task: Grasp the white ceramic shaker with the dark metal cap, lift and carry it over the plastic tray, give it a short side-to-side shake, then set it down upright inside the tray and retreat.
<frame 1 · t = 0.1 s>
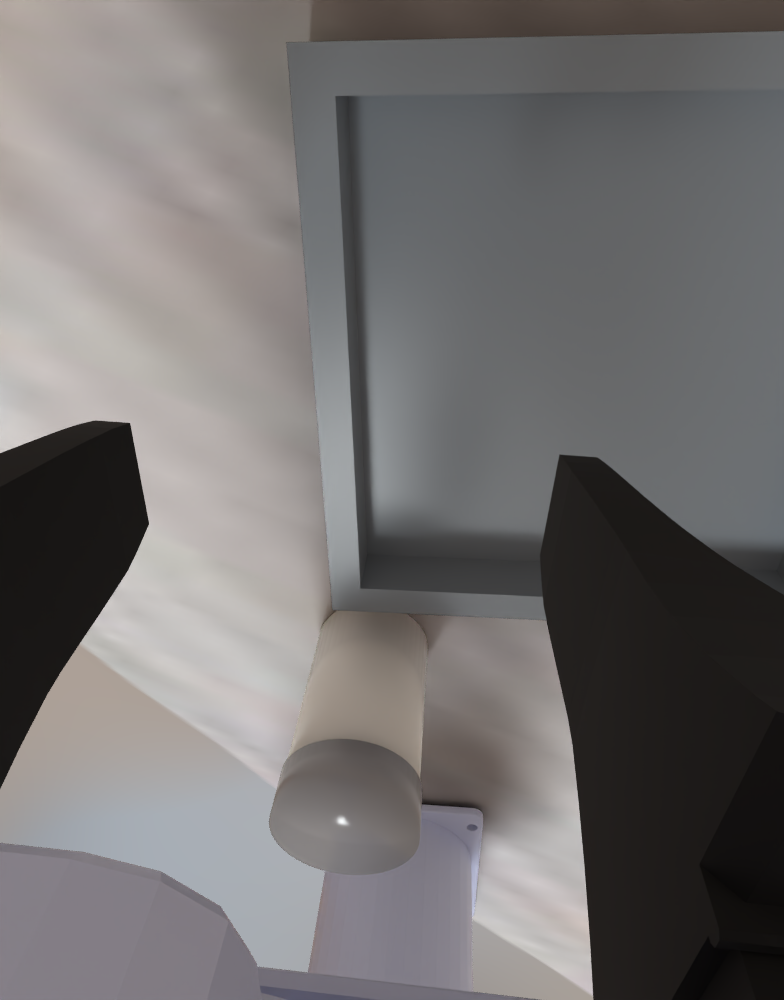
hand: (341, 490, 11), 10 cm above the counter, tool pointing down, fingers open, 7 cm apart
tray: (593, 363, 20), on the counter
shaker: (373, 644, 27), on the counter
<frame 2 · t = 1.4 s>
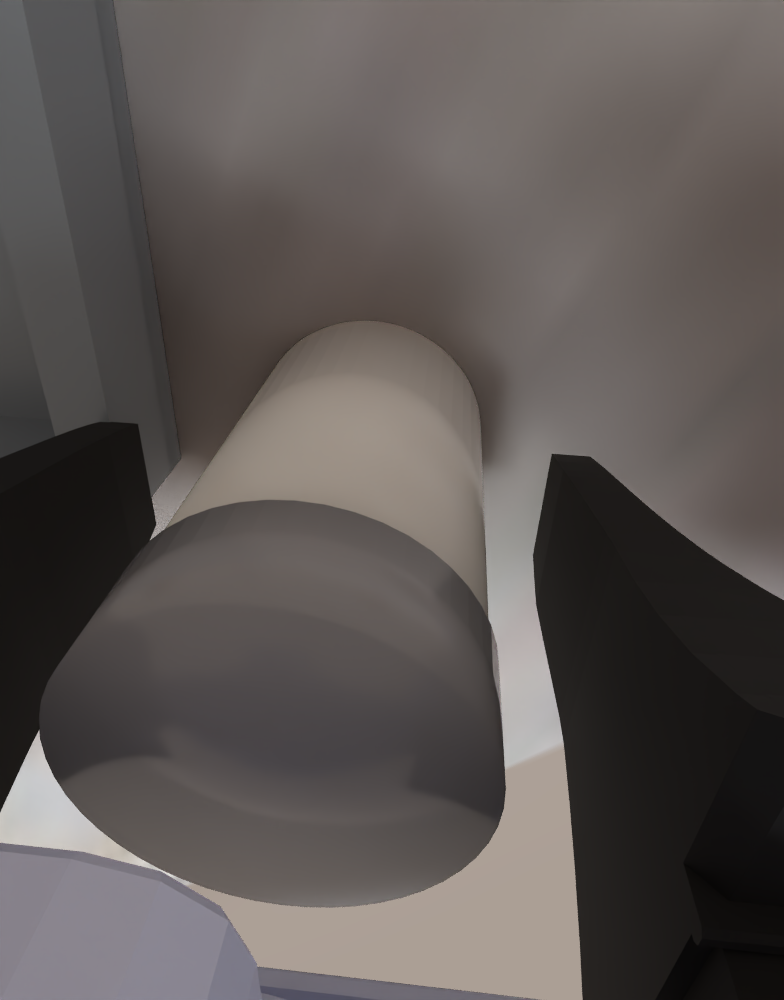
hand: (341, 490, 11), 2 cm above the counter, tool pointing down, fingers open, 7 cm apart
shaker: (369, 429, 13), on the counter
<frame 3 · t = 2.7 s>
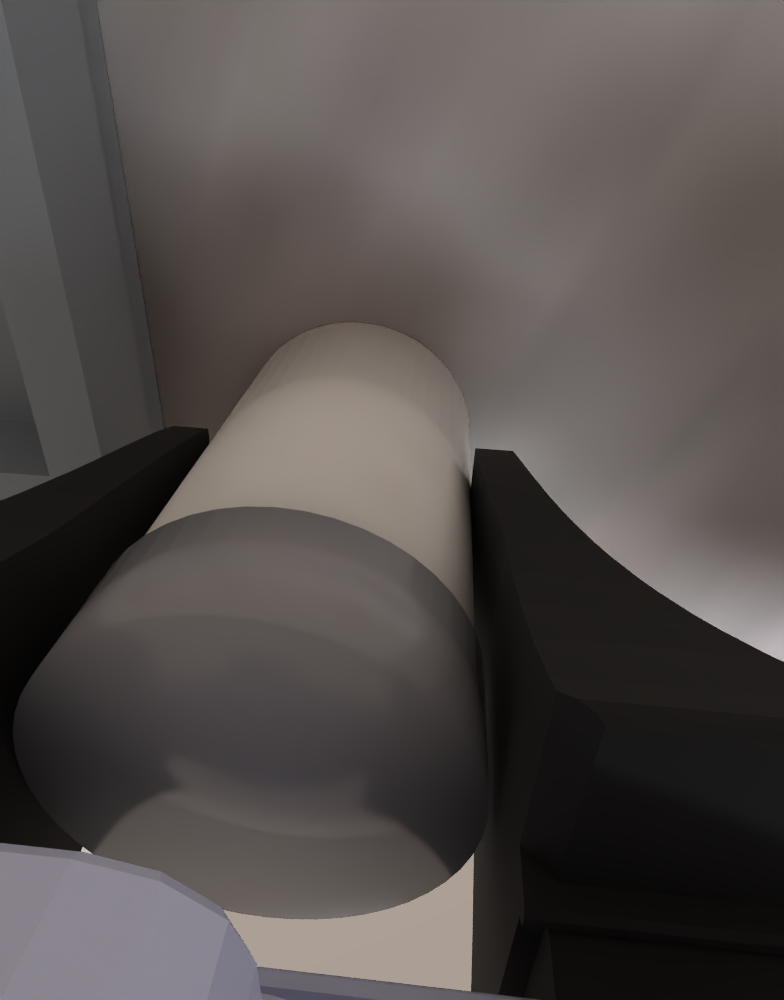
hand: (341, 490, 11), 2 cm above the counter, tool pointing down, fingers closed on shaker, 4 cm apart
shaker: (357, 431, 13), on the counter, touching gripper
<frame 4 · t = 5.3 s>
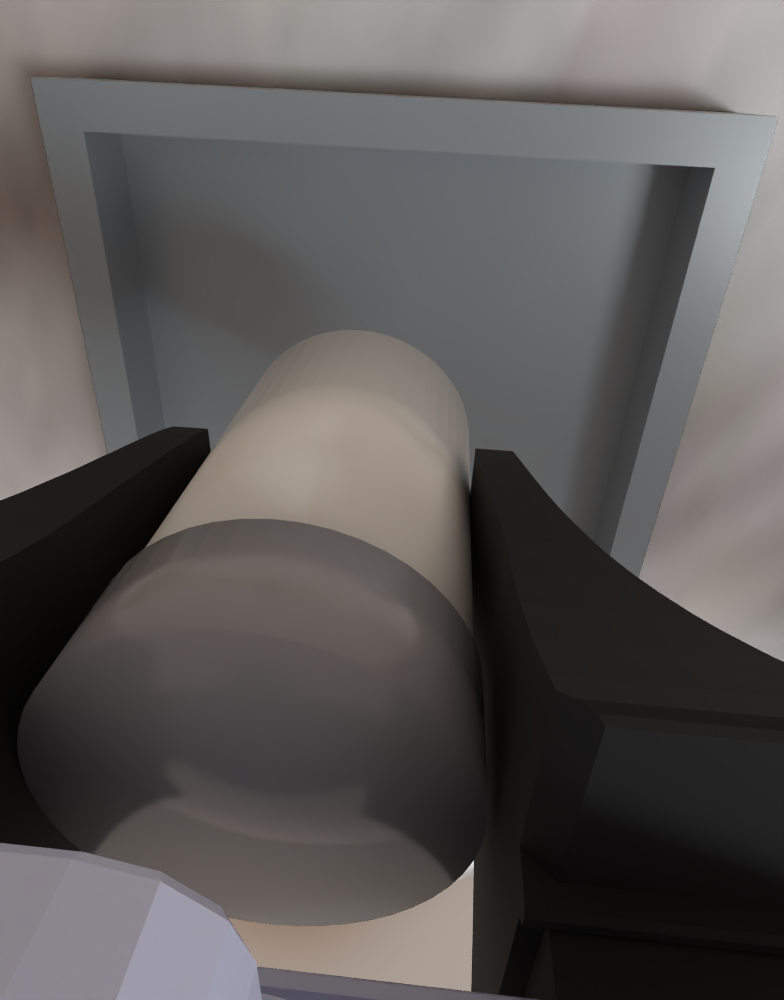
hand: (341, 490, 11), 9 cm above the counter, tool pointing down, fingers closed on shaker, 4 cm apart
tray: (388, 398, 21), on the counter
shaker: (357, 438, 13), point 7 cm above the counter, touching gripper
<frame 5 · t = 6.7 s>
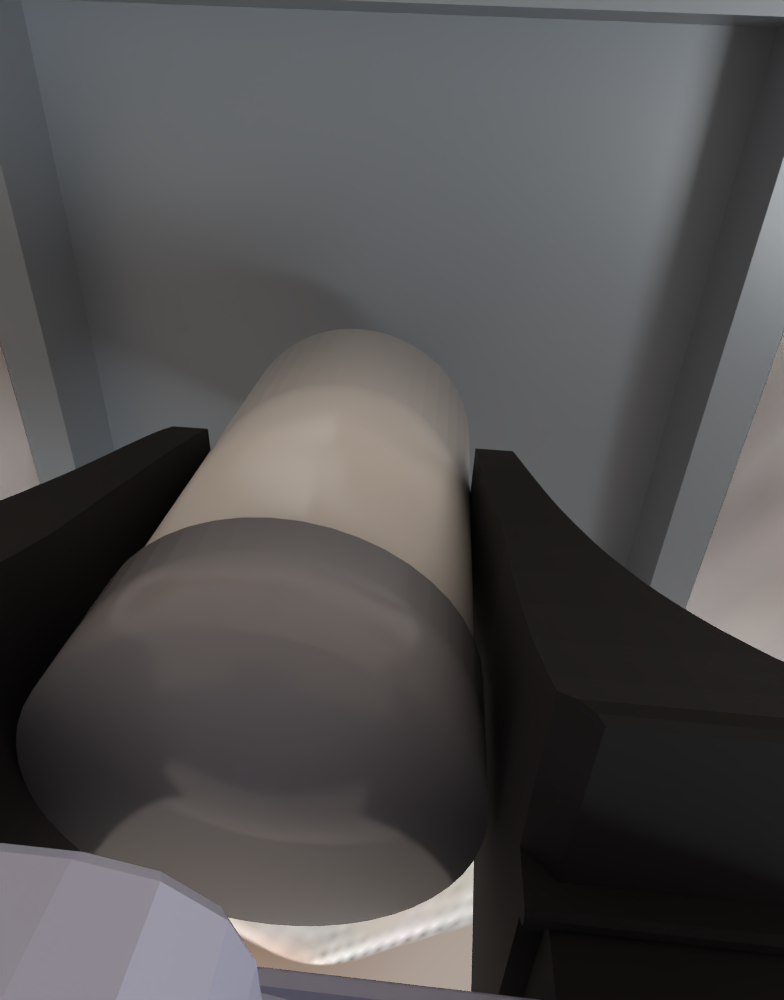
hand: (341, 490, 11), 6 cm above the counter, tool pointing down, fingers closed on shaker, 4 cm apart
tray: (380, 363, 17), on the counter
shaker: (357, 437, 13), point 4 cm above the counter, touching gripper
when the fingers open (4 cm above the counter, at t = 8.0 s): shaker stays where it is, resting on tray.
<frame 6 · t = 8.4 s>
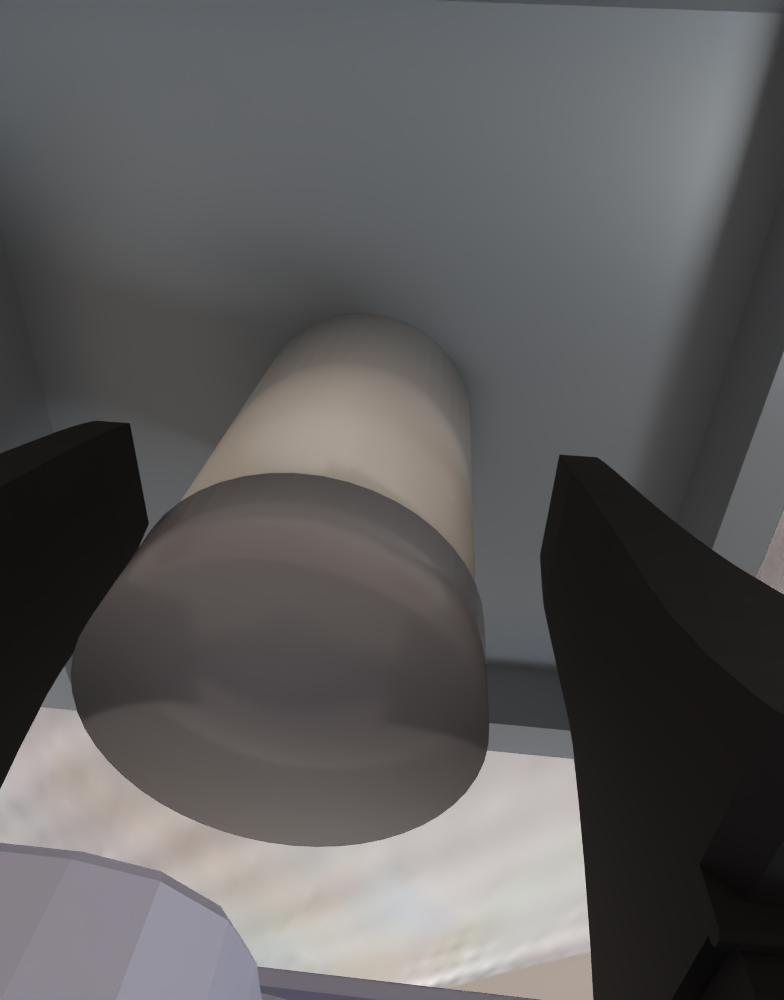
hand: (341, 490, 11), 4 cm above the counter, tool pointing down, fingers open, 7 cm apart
tray: (367, 400, 15), on the counter
shaker: (365, 417, 14), point 1 cm above the counter, touching tray
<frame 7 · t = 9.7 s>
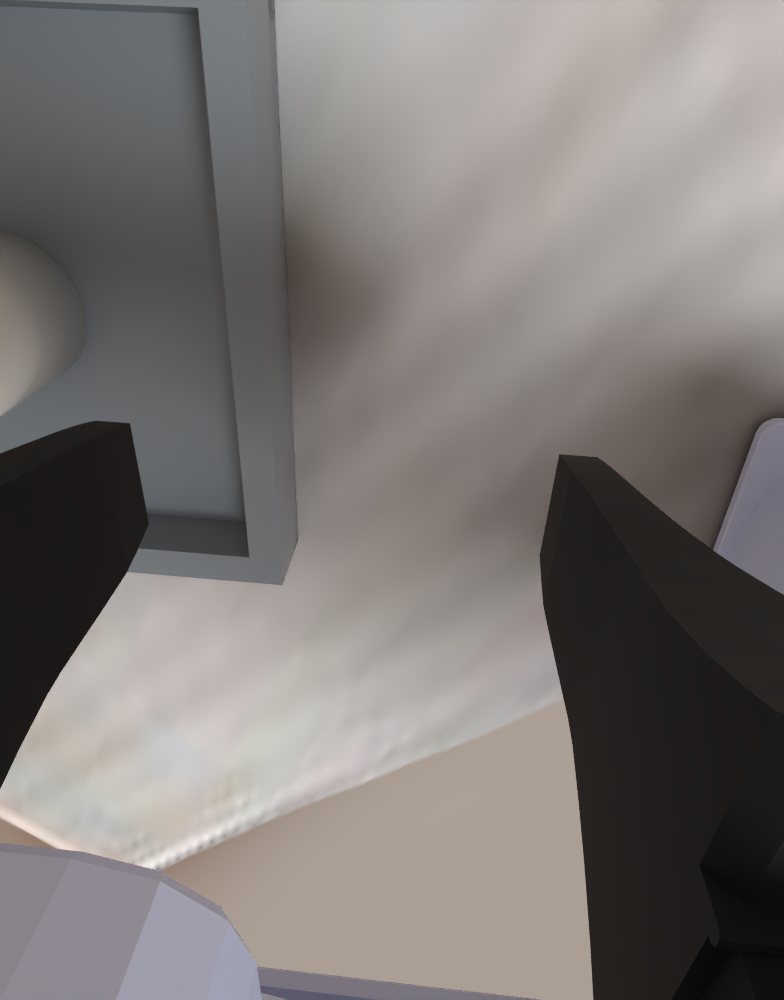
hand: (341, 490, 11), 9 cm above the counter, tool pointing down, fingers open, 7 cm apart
tray: (21, 298, 20), on the counter
shaker: (11, 308, 19), point 1 cm above the counter, touching tray
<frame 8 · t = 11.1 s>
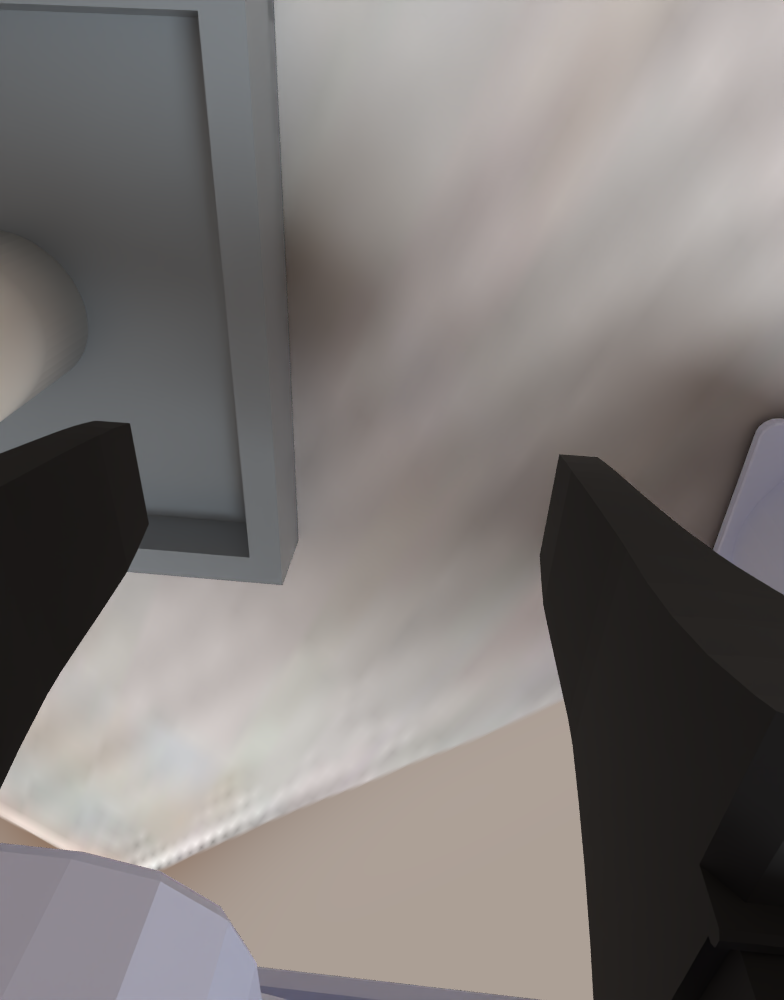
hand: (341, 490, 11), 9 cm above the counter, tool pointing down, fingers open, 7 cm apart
tray: (23, 300, 20), on the counter
shaker: (12, 310, 19), point 1 cm above the counter, touching tray
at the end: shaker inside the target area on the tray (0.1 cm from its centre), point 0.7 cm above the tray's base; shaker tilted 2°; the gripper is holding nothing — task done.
